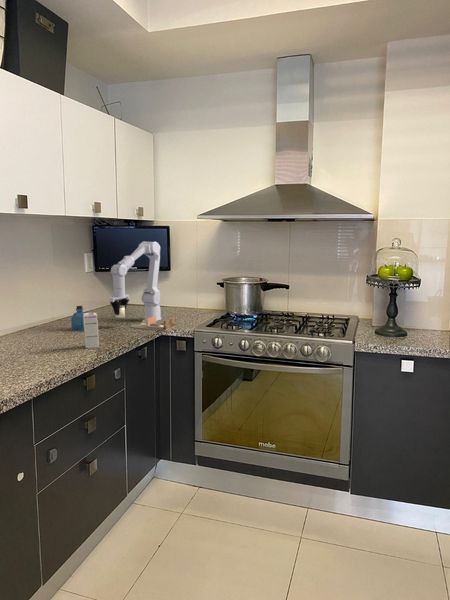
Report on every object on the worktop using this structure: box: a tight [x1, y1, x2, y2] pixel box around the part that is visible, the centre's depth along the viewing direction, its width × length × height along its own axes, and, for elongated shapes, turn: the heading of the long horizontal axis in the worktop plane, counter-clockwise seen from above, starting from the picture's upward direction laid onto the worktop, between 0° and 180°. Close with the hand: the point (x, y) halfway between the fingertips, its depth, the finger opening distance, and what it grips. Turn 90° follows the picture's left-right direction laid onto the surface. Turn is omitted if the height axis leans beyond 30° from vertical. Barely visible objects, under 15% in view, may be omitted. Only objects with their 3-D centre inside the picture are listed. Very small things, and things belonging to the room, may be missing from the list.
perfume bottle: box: [70, 305, 87, 332], centre depth 231 cm, size 6×6×12 cm
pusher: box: [146, 316, 161, 327], centre depth 238 cm, size 9×5×4 cm, turn 160°
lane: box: [130, 316, 177, 332], centre depth 238 cm, size 12×20×5 cm, turn 70°
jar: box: [114, 305, 126, 319], centre depth 237 cm, size 5×5×6 cm
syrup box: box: [83, 312, 100, 349], centre depth 197 cm, size 6×6×14 cm
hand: (120, 313), depth 237 cm, fingers closed on jar, 5 cm apart
